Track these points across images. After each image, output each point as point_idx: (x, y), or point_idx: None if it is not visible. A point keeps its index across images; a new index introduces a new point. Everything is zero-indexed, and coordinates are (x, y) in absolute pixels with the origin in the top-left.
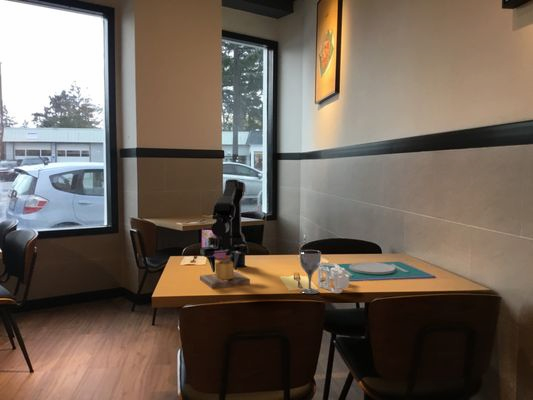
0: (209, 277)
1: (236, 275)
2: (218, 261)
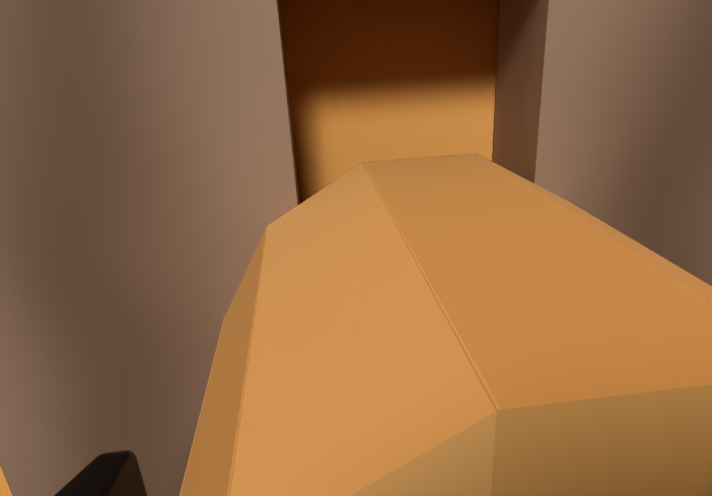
0: (80, 255)
1: (704, 277)
2: (402, 492)
